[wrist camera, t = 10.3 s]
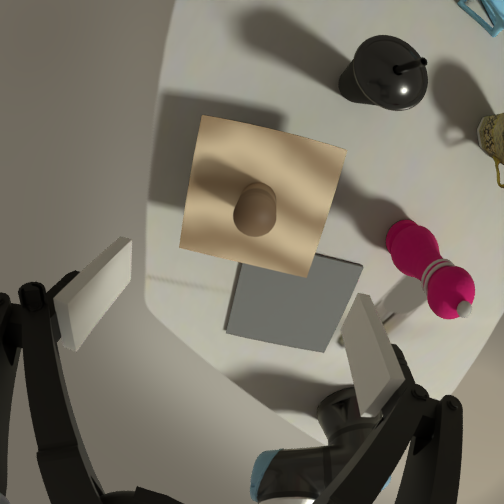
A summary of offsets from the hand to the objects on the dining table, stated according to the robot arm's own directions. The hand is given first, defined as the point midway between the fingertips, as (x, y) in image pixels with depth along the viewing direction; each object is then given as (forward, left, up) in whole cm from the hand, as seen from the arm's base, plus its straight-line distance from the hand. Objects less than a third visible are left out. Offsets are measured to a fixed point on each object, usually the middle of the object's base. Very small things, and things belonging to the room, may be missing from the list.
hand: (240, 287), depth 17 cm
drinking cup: (+17, -9, -27) cm, 33 cm away
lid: (0, 0, -20) cm, 20 cm away
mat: (-17, -9, -27) cm, 33 cm away
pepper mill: (-2, -23, -27) cm, 35 cm away
